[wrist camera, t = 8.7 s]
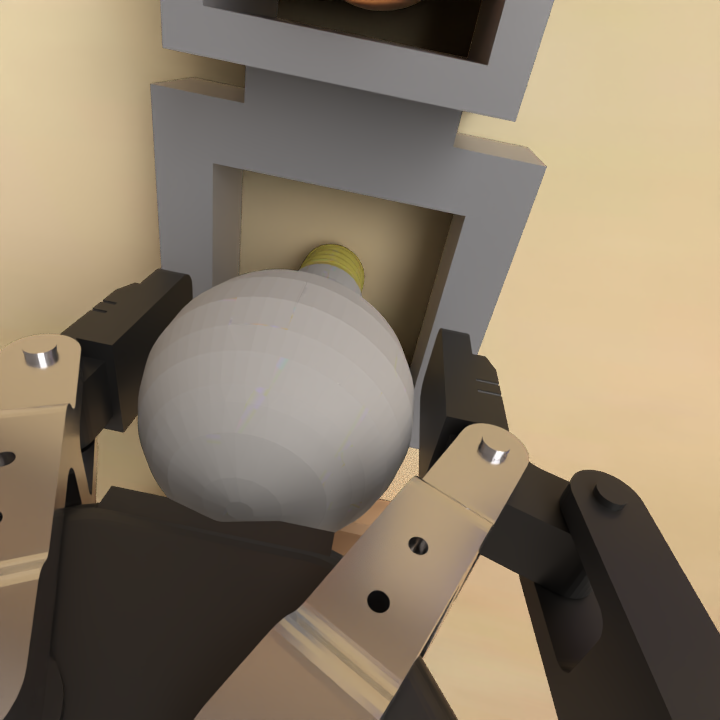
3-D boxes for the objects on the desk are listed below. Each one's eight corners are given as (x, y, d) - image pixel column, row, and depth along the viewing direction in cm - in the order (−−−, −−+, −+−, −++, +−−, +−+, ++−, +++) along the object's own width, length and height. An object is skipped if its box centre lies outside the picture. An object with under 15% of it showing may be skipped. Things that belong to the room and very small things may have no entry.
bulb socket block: (670, -266, 9) (865, -513, 5) (439, 407, 19) (442, 512, 15) (185, -367, 9) (-8, -697, 5) (197, 357, 19) (132, 447, 15)
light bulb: (269, 339, 18) (134, 596, 10) (241, 187, 15) (10, 367, 7) (418, 340, 17) (411, 618, 9) (419, 181, 14) (409, 372, 6)
